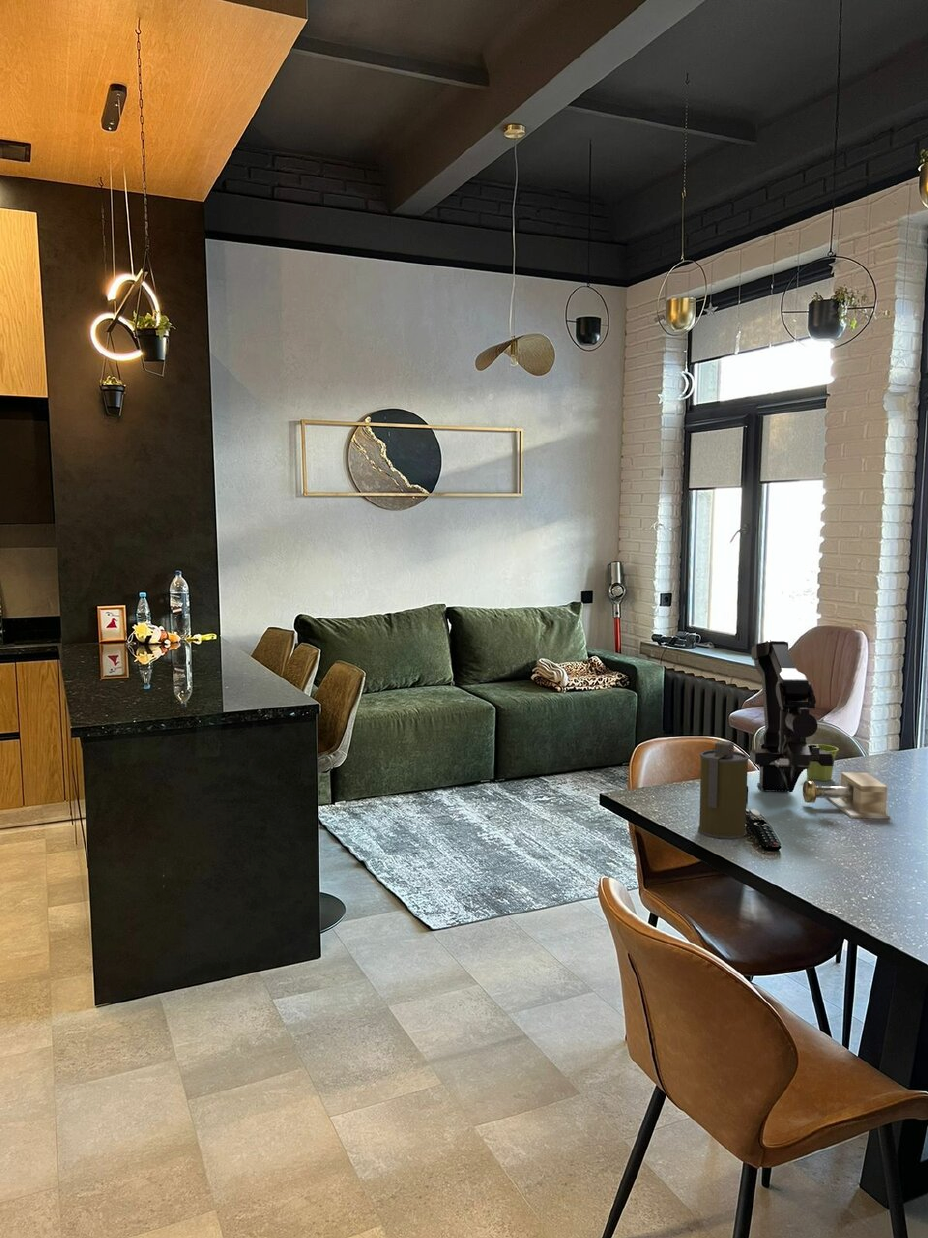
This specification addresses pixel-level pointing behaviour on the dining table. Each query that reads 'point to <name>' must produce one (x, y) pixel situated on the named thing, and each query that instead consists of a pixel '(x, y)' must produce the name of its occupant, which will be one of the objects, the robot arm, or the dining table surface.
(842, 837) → the dining table surface
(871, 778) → the block
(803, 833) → the dining table surface
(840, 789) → the door knob
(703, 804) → the canister
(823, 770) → the plant pot
